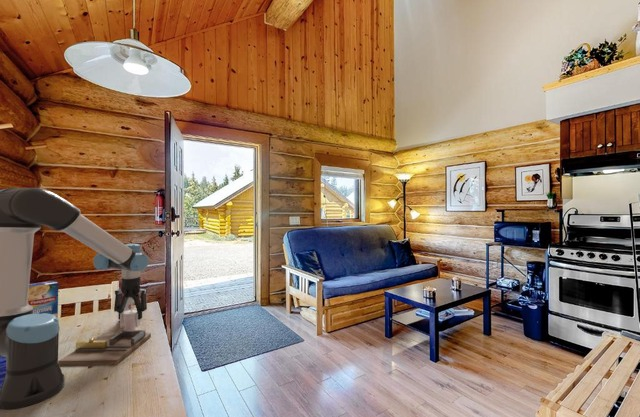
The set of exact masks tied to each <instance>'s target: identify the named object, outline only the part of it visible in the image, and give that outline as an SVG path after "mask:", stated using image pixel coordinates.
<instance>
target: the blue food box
mask: <svg viewBox="0 0 640 417" xmlns="http://www.w3.org/2000/svg"><path fill="white" fill-rule="evenodd" d="M27 303H28V304H29V305H30V306H32V307H33V314H36V313H39V314H42V313H47V314H52V315H54V316H56V317H57V318H58V319H59V317H58V316H59V315H58V314H59V312H58V311H59V282H58V281H55V280H50V281H48V280H47V281H42V282H35V283H29V291H28V301H27Z"/></svg>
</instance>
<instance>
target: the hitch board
mask: <svg viewBox="0 0 640 417" xmlns="http://www.w3.org/2000/svg"><path fill="white" fill-rule="evenodd" d="M116 334H117V333H102V334H100V335H99V336H97V337H94V338H95V340H94V341H107V348H106V349H76V348H75V349H74V351H72V352H71V353H69V354H67V355H66V356H64V357H62V358H60V359H58V363H59V366H71V365H72V366H74V365H75V366H76V365H77V366H79V365H80V366H85V365H86V366H87V365H88V366H89V365H91V366H92V365H95V366H96V365H118V364H119V363H120V362H122V361H123V360H125V358H127V357H128V356H129V355H130V354H131V353H133V352H134V351H135V350H137V348H139V347H141V345H142V344H144V343H145V342H146V341H148V339H150V338H151V337H152V336H151V335H152V333H151V332H148V333H146V332H145V336H144V337H143V338H142V339H141V340H139V341H138V342H137V343H136V344H134V345H131V338H133V337H123V338H122V339H120V340H119V341H117V342H116V343H114V344H113V345H109V342H110V338H112V337H113V336H115V335H116Z"/></svg>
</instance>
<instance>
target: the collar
mask: <svg viewBox="0 0 640 417" xmlns="http://www.w3.org/2000/svg"><path fill="white" fill-rule="evenodd" d="M145 333H146V329H135V330H125V329H123V330H121V331H119V332H118V333H115V334H116V335H115V336H113V337H112V338H110V342H109V345H113V344H114V343H116V342H117V341H119V340H120V339H122V338H123V337H133V338H131V345H134V344H136V343H137V342H138V341H139V340H141V339H142V338H143V337H144V336H145Z"/></svg>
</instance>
